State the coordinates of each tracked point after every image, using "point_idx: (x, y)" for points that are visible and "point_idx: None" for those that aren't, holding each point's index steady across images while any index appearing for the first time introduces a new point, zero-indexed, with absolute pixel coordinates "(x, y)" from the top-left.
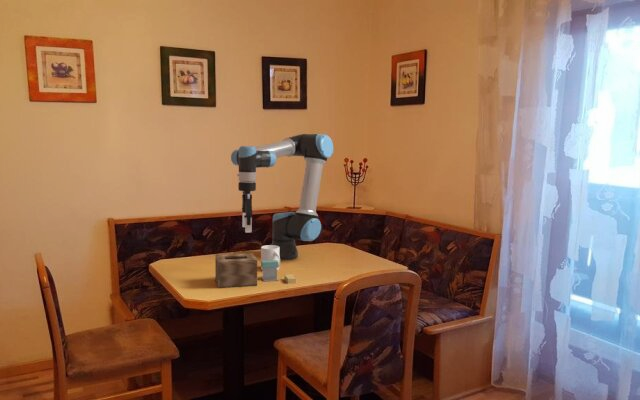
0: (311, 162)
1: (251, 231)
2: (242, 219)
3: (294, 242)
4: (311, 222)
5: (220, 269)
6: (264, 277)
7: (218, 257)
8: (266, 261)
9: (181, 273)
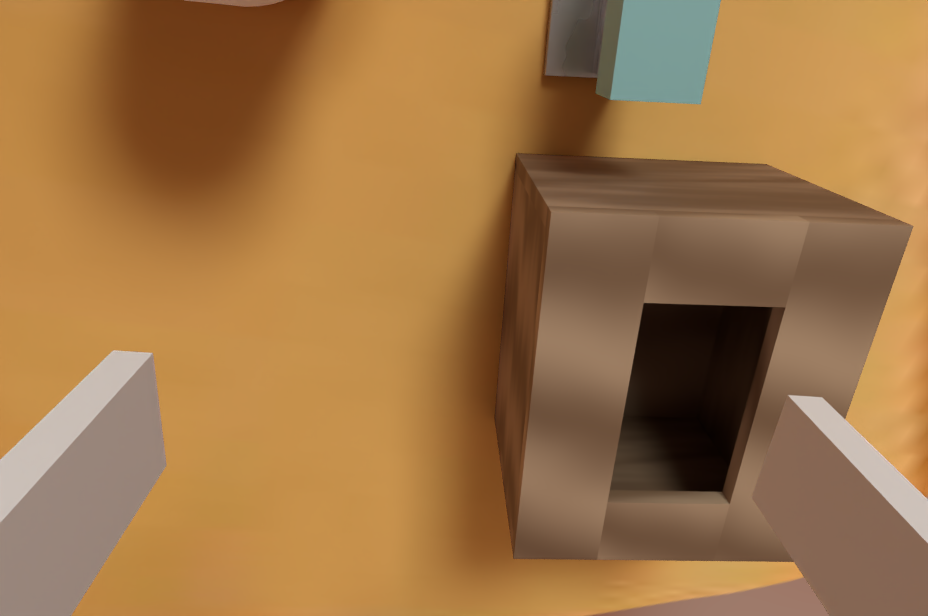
0: None
1: (829, 411)
2: (71, 603)
3: None
4: None
5: None
6: None
7: (630, 545)
8: (667, 43)
9: (285, 583)
